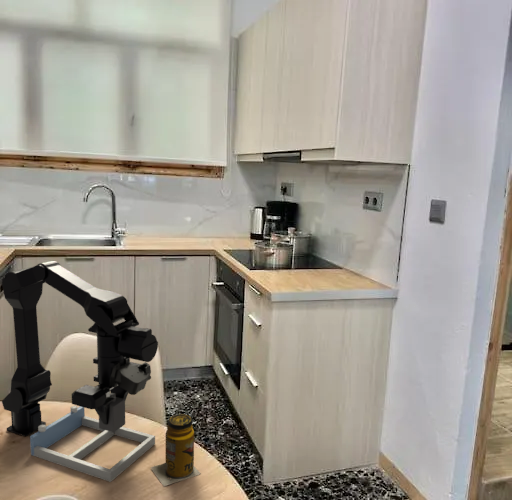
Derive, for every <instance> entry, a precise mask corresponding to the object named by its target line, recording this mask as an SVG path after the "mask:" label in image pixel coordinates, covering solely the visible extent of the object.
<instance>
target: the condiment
mask: <svg viewBox="0 0 512 500" xmlns="http://www.w3.org/2000/svg"><path fill="white" fill-rule="evenodd" d="M194 459H195V430H194V429H193V418H192V417H191V416H190V415H188V414H184V413H178V414H173V415H171V416H170V417H169V418H168V420H167V427H166V431H165V460H164V461H165V462H164V463H161V464H159V465H158V464H157V465H154V466H151V467H150V469H151V470H152V472H153V473H154V475H155V476H156V478H157V480H158V481H159V482H160V483H161V485H162V486H163V487H167V486H169V485H172V484H175V483H177V482H181V481H185V480H188V479H191V478H193V477H196V476H199V475H200V474H201V472H200V471H199V470H198V469H197V468H196V466H194V461H195V460H194Z"/></svg>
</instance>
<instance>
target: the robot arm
mask: <svg viewBox="0 0 512 500" xmlns="http://www.w3.org/2000/svg"><path fill="white" fill-rule="evenodd" d="M44 284H47V285H48V286H50V287H52V288H53V289H55V290H56V291H58V292H60V294H63V295H64V296H66V297H67V298H69V299H70V300H72V301H74V302H75V303H77V305H80V306H81V307H82V308H83V310H84V314H85V316H87V317H88V318H89V319H90V320H91V321H93V323H94V324H93V325H92V326H90V327H89V328H88V329H87V330H88V332H89V333H94V334H96V352H97V356H96V357H94V358H92V363H93V364H95V365H97V374H96V375H94V376H93V382H96V383H98V384H97V385H95V386H93V385H89V384H84V385H83V386H81V387H79V388H77V389H76V390H74V391H73V392H72V393H71V404H72V405H73V406H77V407H80V406H81V407H84V409H89V410H95V412H96V414H97V415H98V418H99V417H100V419H101V421H102V422H103V424H105V425H107V424H108V421H109V408H110V403H111V402H112V401H113V400H114V399H115V398H112V397H110V393H115V394H116V397H118V398H122V399H125V402H126V401H127V398H128V394H129V395H132V396H134V395H137V394H138V393H139V392H140V391H142V390H144V389H145V388H146V385H147V382H148V381H150V380H151V379H152V376H151V373H152V369H151V364H149V362H151V361H152V360H153V359H154V358H155V356H156V354H157V352H158V347H159V342H158V340H157V337H156V335H154V334H153V331H152V328H147V327H146V328H143V327H137V326H139V325H140V322H139V321H138V319H137V316H135V314H134V312H133V310H132V309H131V307H130V305H129V303H128V299H127V298H126V297H125V296H124V295H123V294H120V293H118V292H115V291H112V290H108V289H102V288H98V287H95V286H93V285H92V284H91V283H90V282H87V281H85V280H84V279H83V278H81V277H79V276H78V275H76V274H75V273H73V272H71V271H69V270H68V269H67V268H65V267H63V266H61V264H60V263H59V262H58V261H54V260H49V261H44V262H40V263H37V264H36V265H34V266H31V267H27V268H21V269H17V270H12V271H8V272H7V273H5V275H4V276H3V277H2V279H1V285H2V286H1V287H2V290H3V296H4V299H5V300H6V302H7V303H8V304H9V305H10V307H11V308H12V314H13V324H14V327H13V328H14V336H15V337H14V339H15V352H16V364H17V367H16V369H15V370H14V373H13V376H12V378H11V381H10V391H9V393H8V394H7V395H6V396H5V397H4V398H3V399H2V400H1V404H2V408H3V409H4V410H5V411H9V412H10V415H11V416H10V417H11V425H10V426H8V427H6V431H7V432H9V433H10V432H11V433H14V434H16V435H19V436H23V437H27V436H29V435H32V434H33V433H35V432H36V431H37V430H38V426H40V425H46V424H47V422H46V421H42V411H41V404H40V402H42V401H44V400H46V398H47V395H48V393H49V392H50V390H51V386H53V383H52V381H51V380H52V379H51V376H52V375H51V371H50V370H48V369H45V368H44V366H43V365H42V363H41V357H40V356H41V355H40V341H39V326H38V313H37V312H38V311H37V305H38V302H39V301H40V299H41V297H42V295H43V287H44ZM122 320H124V321H122ZM119 321H122V322H120V323H119ZM116 323H117V324H116ZM131 360H136V361H141V362H143V363H137V362H132V361H131ZM46 426H47V425H46Z"/></svg>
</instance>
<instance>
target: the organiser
mask: <svg viewBox="0 0 512 500" xmlns="http://www.w3.org/2000/svg"><path fill="white" fill-rule="evenodd" d="M81 426H84V427H88V428H90V429H94V430H98V431H101V433H99V434H98V435H96V436H95V437H93V438H91V440H89V441H88V442H86V443H85V444H83V445H82V446H81V447H79V448H78V449H76V450H74V452H72V453H71V454H69V455H67V454H64V453H61V452H58V451H56V450H52V449H50V448H49V447H51V446H52V445H54V444H55V443H57V442H58V441H59V440H61V439H63V438H64V437H65V436H67V435H69V434H71V433H72V432H73V431H75V430H77V429H78V428H80V427H81ZM113 436H118V437H121V438H124V439H128V440H131V441H135V442H139V443H140V444H139V445H137V446H136V447H135V448H134V449H133V450H131V451H130V452H129V453H128V454H126V455H125V456H124V457H123V458H122V459H121V460H120V459H119V461H118V462H117V463H115V464H114V465H113V466H112V467H110V468H107V467H104V466H101V465H97V464H95V463H92V462H89V461H85V460H82V459H83V458H85V457H86V456H87V455H89V454H90V453H91V452H93V451H94V450H96V449H97V448H99V447H100V446H101V445H102V444H104V443H105V442H106V441H108V440H109V439H111V438H112V437H113ZM29 438H30V439H29V440H30V441H29V443H30V445H29V447H30V455H31V456H32V457H33V456H34V457H37V458H39V459H41V460H45V461H48V462H50V463H53V464H57V465H60V466H62V467H64V468H68V469H71V470H74V471H76V472H80V473H82V474H86V475H89V476H91V477H95V478H99V479H101V480H103V481H107V482H109V483H111V482H112V481H113V480H115V479H116V478H117V477H118V476H119V475H120V474H122V473H123V472H124V471H125V470H126V469H128V468H129V467H130V466H131V465H133V463H134V462H135V461H137V460H138V459H139V458H140V457H142V456H143V455H144V454H145V453H146V452H148V451H149V450H150V449H151V448H152V447H154V446H155V445H156V435H153V434H150V433H147V432H143V431H140V430H139V431H138V430H135V429H133V428H129V427H125V426H122V427H121V428H119V429H118V430H117V431H115V432H110V431H107V430H103V429H100V428H99V419H96V418H95V417H94V418H93V417H90V416H86V415H85V408H84V407H81V406H77V405H73V406H70V412H68V413H67V414H65V415H64V416H62V417H60V418H58V419H57V420H54V422H52V423H50V424H48V425H40V426H38V431H37V432H36V431H35V432H34V434H33V433H32V434H30V436H29Z"/></svg>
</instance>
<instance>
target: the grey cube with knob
mask: <svg viewBox="0 0 512 500" xmlns="http://www.w3.org/2000/svg"><path fill="white" fill-rule="evenodd" d="M110 397H112V398H115V399H114V400H113V401H112V402H111V403H110V408H109V421H108V424H107V425H105V424H103V422H102V421H101V419H100V417H99V416H98V420H99V428H100V429H103V430H107V431H110V432H115V431H117V430H118V429H119V428H121V427H124V426H125V425H126V401H125V399H122V398H118V397H116V394H115V393H111V392H110Z"/></svg>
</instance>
